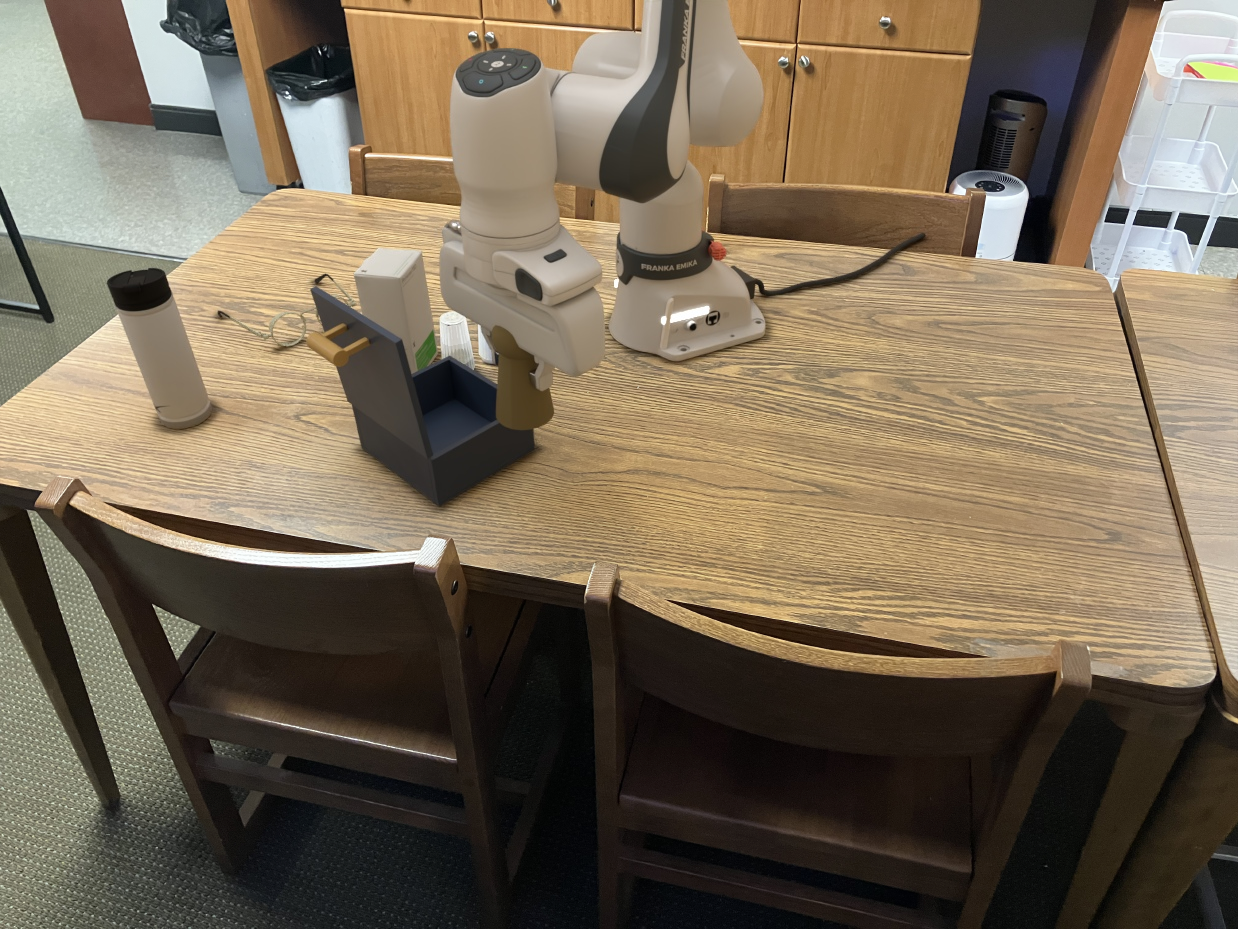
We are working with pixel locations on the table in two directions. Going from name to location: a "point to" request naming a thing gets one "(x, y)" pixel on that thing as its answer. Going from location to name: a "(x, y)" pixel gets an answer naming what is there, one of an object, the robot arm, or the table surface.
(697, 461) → the table surface
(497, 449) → the chest
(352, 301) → the round eyeglasses
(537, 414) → the brown pawn
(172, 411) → the travel mug
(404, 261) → the cosmetic box
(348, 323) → the lid
